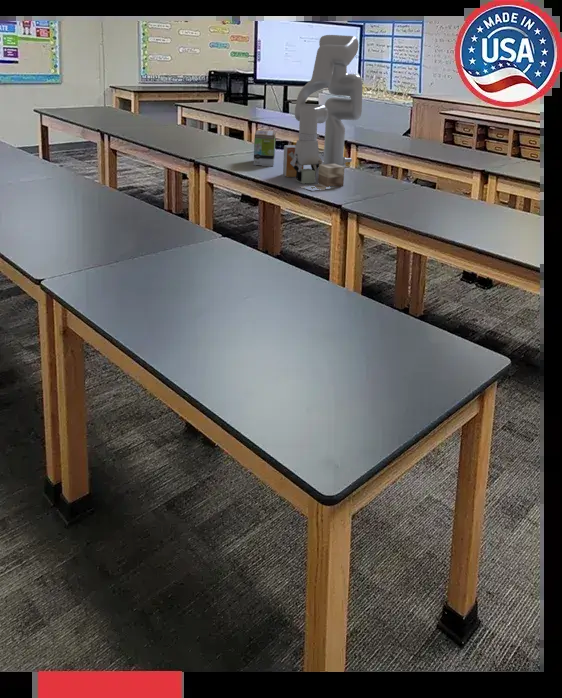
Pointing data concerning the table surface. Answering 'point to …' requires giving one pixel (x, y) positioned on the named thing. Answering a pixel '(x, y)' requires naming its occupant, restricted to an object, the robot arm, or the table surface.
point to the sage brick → (307, 176)
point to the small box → (288, 157)
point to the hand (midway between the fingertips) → (305, 179)
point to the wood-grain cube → (331, 175)
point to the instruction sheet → (317, 187)
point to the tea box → (264, 148)
